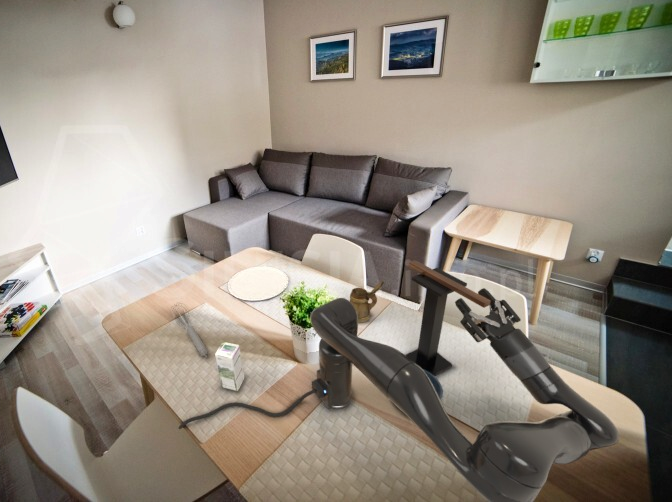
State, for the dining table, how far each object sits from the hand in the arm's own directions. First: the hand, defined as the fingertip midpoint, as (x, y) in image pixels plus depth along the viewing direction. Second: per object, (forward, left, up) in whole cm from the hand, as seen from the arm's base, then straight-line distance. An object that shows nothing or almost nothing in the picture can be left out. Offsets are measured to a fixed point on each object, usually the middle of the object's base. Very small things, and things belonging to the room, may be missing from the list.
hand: (469, 294), depth 84 cm
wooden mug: (-2, +37, -33) cm, 50 cm away
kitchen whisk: (-65, +63, -33) cm, 96 cm away
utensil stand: (0, +9, -33) cm, 34 cm away
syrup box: (-58, +32, -33) cm, 74 cm away
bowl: (-13, +1, -33) cm, 35 cm away
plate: (-29, +81, -33) cm, 92 cm away
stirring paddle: (0, +7, -1) cm, 7 cm away
